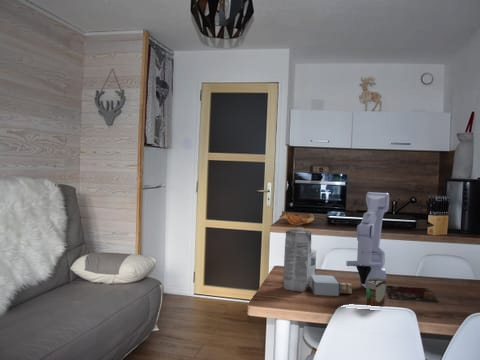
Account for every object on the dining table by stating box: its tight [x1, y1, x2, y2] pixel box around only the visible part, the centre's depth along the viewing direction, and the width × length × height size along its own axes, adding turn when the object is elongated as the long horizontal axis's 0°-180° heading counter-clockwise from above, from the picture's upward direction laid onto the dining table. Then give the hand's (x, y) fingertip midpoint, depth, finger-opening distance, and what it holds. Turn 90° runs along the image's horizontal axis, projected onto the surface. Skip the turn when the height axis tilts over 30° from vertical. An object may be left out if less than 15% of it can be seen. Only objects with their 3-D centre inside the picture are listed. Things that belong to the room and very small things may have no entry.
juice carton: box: [283, 227, 312, 293], centre depth 180 cm, size 9×10×27 cm
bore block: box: [309, 274, 341, 297], centre depth 179 cm, size 10×14×5 cm
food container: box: [365, 278, 388, 307], centre depth 161 cm, size 12×6×10 cm, turn 141°
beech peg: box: [339, 282, 353, 294], centre depth 176 cm, size 10×4×4 cm, turn 88°
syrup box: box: [309, 249, 317, 283], centre depth 198 cm, size 6×6×14 cm
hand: (362, 283), depth 176 cm, fingers closed
